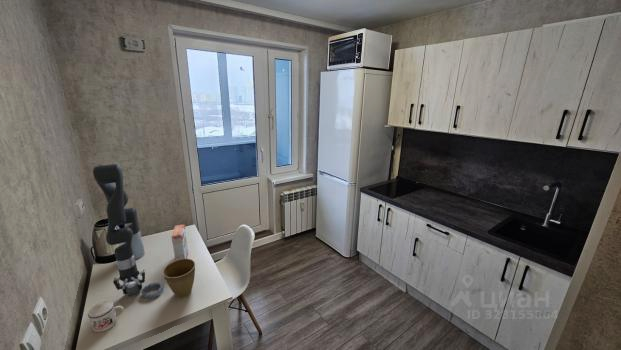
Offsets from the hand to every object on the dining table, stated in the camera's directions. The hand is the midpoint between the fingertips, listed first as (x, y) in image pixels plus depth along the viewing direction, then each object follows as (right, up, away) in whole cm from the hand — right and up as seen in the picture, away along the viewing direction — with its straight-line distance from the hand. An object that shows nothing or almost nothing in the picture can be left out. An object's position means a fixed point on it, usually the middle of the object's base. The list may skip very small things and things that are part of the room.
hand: (133, 291), depth 133 cm
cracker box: (+12, +8, +29) cm, 32 cm away
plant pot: (+26, -1, +1) cm, 26 cm away
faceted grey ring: (+10, -1, 0) cm, 10 cm away
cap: (0, -1, 0) cm, 1 cm away
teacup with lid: (+2, -6, -18) cm, 19 cm away
